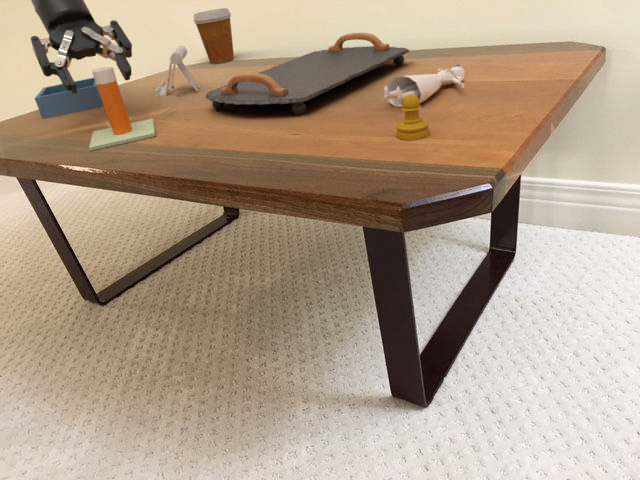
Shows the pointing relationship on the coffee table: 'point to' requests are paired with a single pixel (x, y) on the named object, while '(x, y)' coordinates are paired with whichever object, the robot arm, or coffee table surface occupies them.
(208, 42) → the disposable coffee cup
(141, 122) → the mat
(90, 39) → the robot arm
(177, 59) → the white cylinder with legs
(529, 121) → the coffee table surface
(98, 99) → the box
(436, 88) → the woman figurine
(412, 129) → the chess piece
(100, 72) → the glue stick
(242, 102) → the serving tray
